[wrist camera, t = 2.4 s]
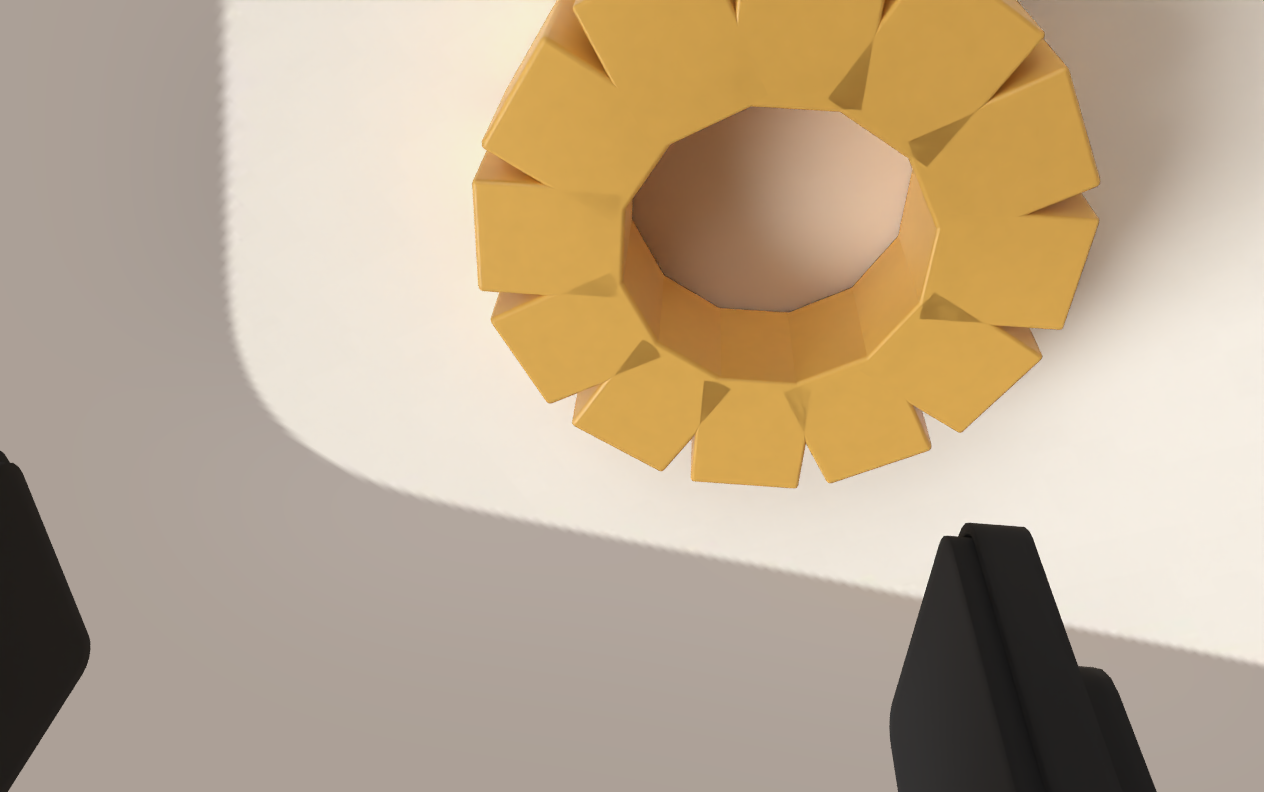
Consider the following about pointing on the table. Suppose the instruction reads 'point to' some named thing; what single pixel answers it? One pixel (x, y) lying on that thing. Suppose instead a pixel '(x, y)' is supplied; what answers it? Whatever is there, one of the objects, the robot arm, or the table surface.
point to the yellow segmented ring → (824, 330)
